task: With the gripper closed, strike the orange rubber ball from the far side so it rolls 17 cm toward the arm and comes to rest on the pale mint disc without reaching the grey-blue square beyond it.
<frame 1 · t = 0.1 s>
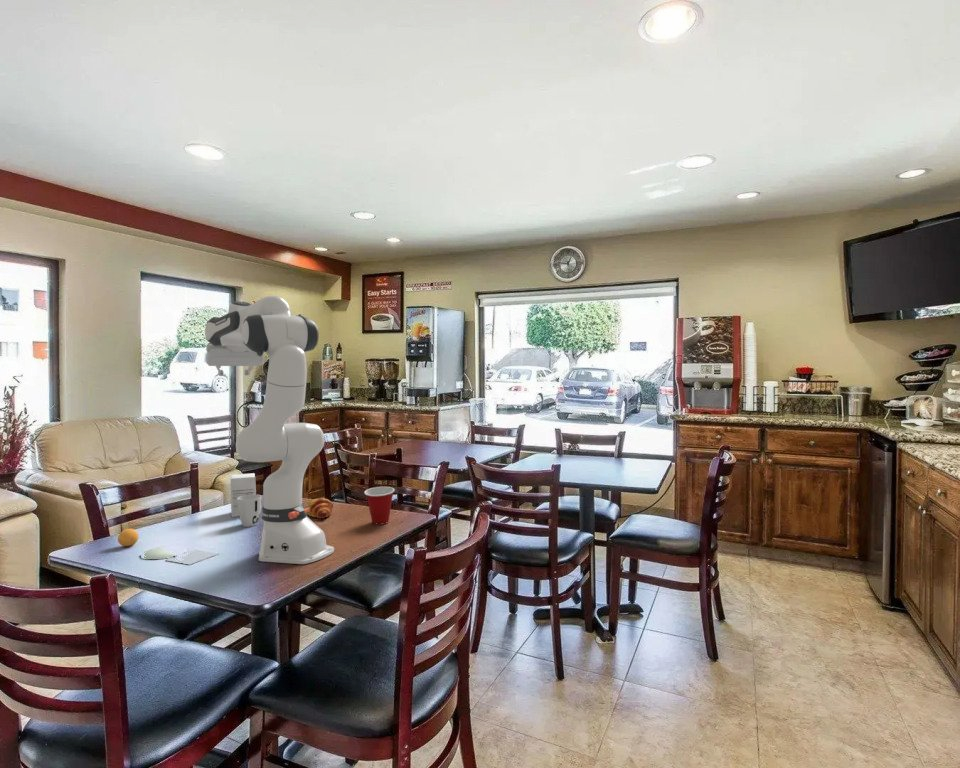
hand: (233, 374, 208), 54 cm above the table, tool tilted 30°, fingers open, 8 cm apart
plastic cup: (380, 523, 196), on the table
croissant: (319, 515, 209), on the table
supplement box: (243, 514, 211), on the table
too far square: (192, 557, 160), on the table
cup: (250, 525, 195), on the table
ball: (128, 537, 172), on the table
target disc: (164, 552, 165), on the table
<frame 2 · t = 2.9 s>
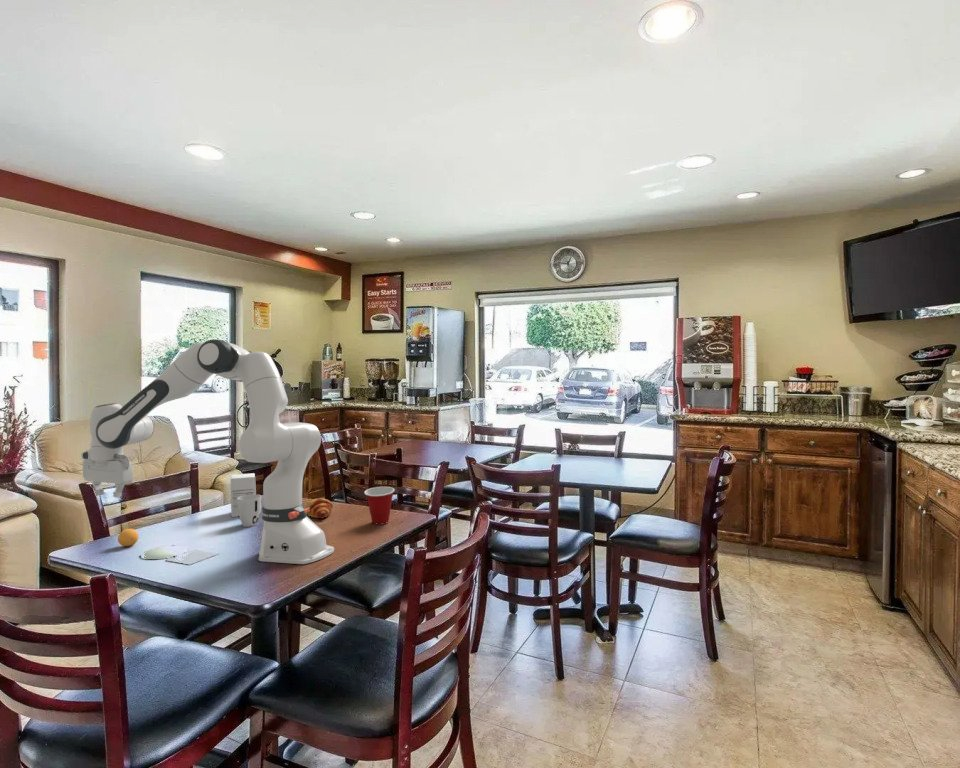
hand: (108, 496, 176), 15 cm above the table, tool pointing down, fingers open, 8 cm apart
nothing on the table moved.
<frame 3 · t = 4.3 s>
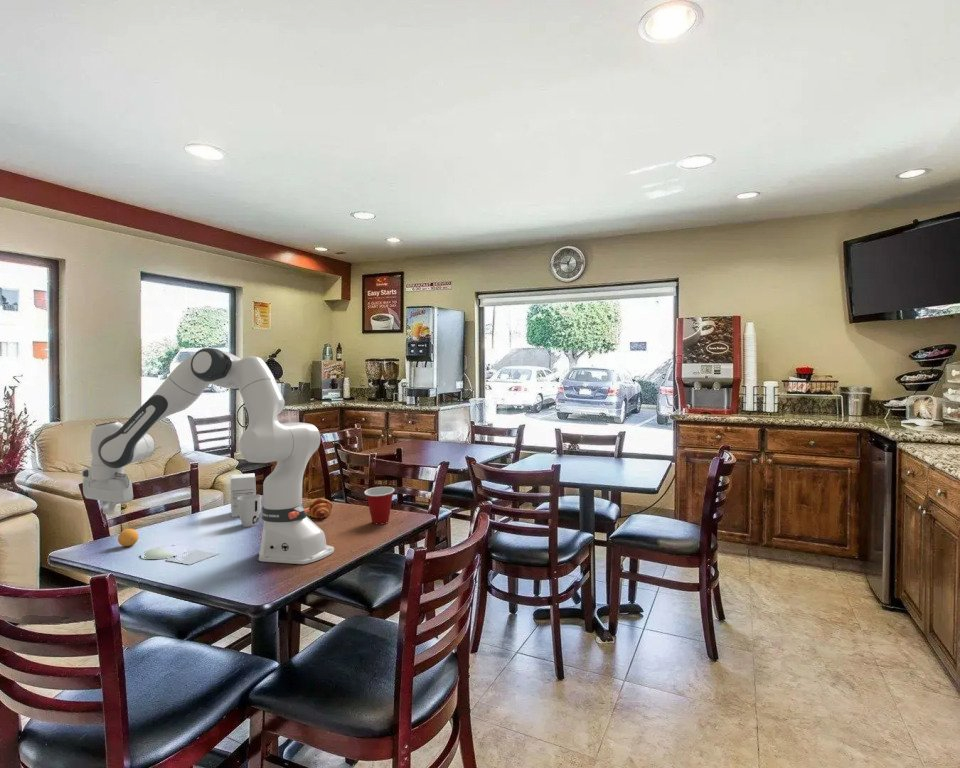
hand: (108, 514, 176), 9 cm above the table, tool pointing down, fingers closed
nothing on the table moved.
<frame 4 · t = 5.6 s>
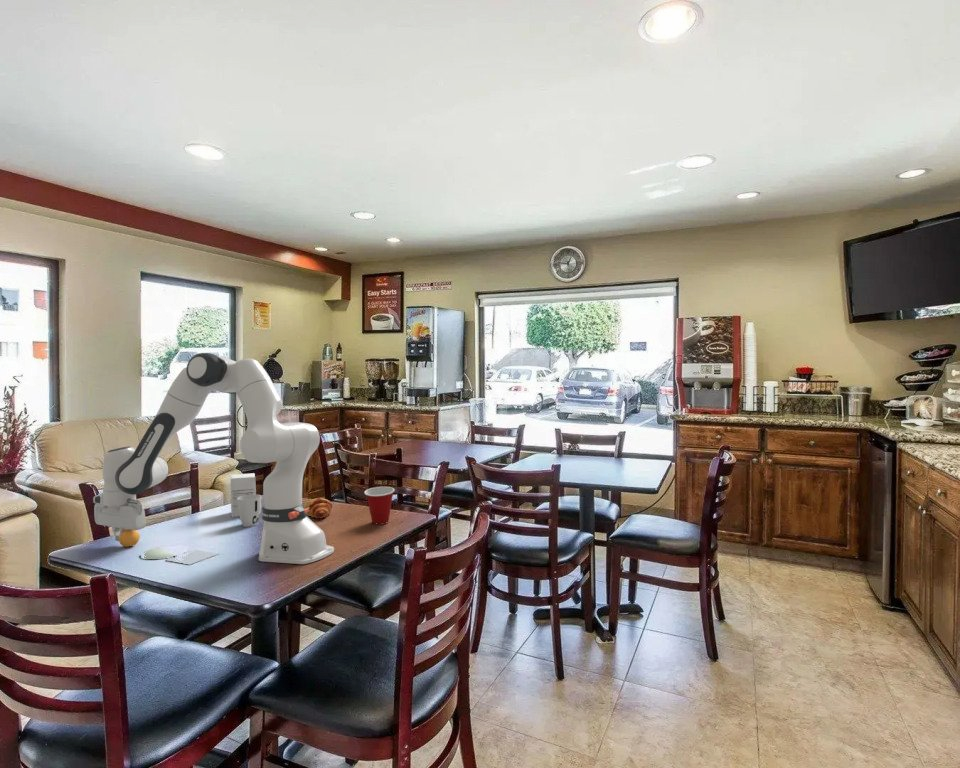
hand: (120, 540, 173), 1 cm above the table, tool pointing down, fingers closed
ball: (129, 538, 172), on the table, touching gripper
everything else where it was.
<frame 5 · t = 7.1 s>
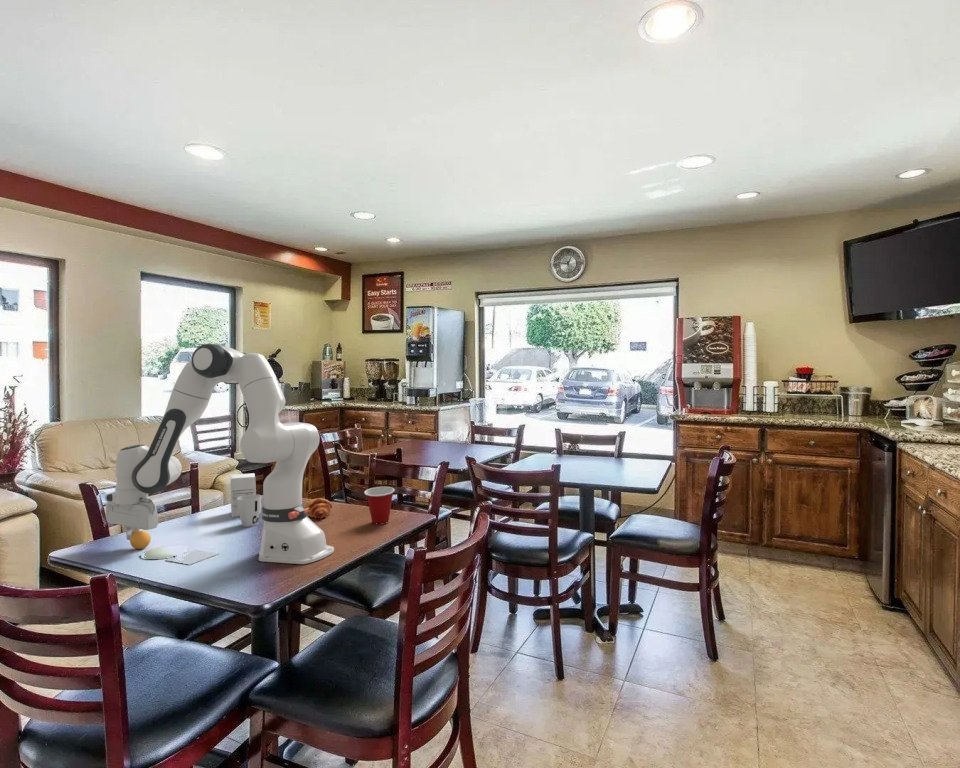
hand: (131, 539, 171), 2 cm above the table, tool pointing down, fingers closed
ball: (140, 539, 169), on the table, touching gripper
everything else where it was.
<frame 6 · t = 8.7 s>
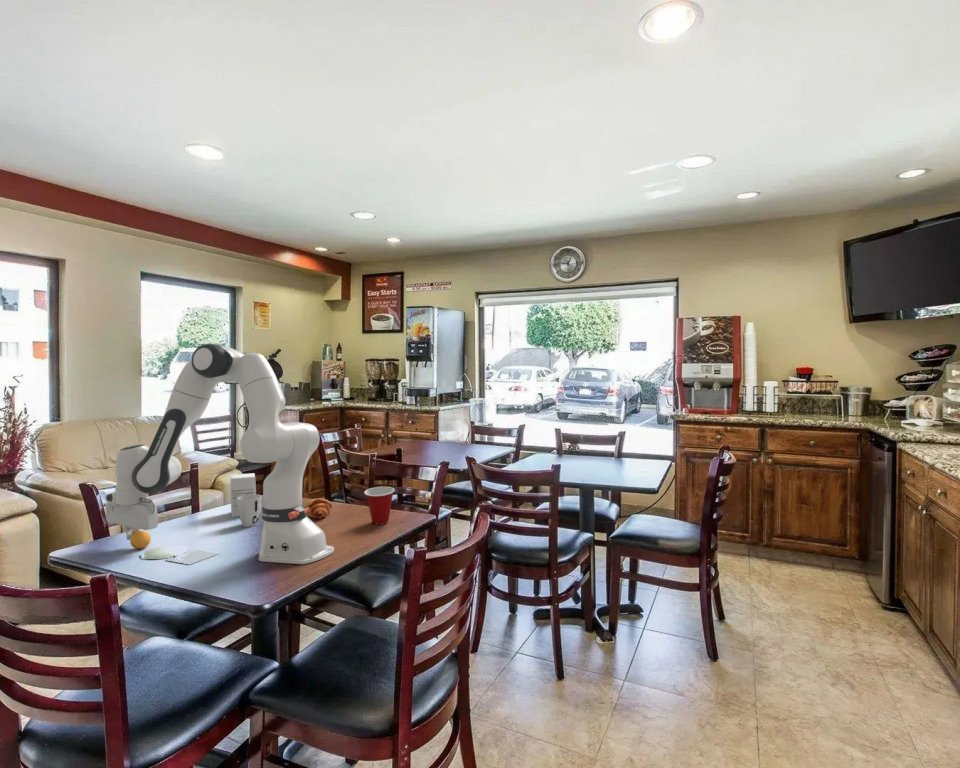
hand: (131, 539, 171), 2 cm above the table, tool pointing down, fingers closed
nothing on the table moved.
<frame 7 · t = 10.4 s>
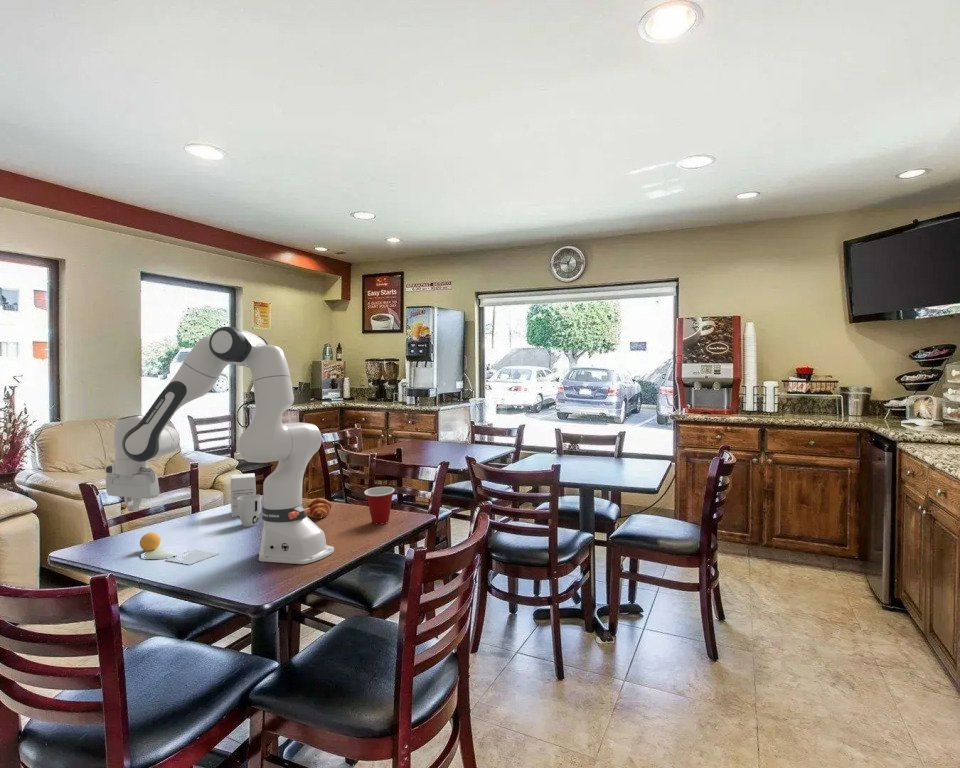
hand: (133, 511, 170), 12 cm above the table, tool pointing down, fingers closed
ball: (150, 541, 167), on the table
everything else where it was.
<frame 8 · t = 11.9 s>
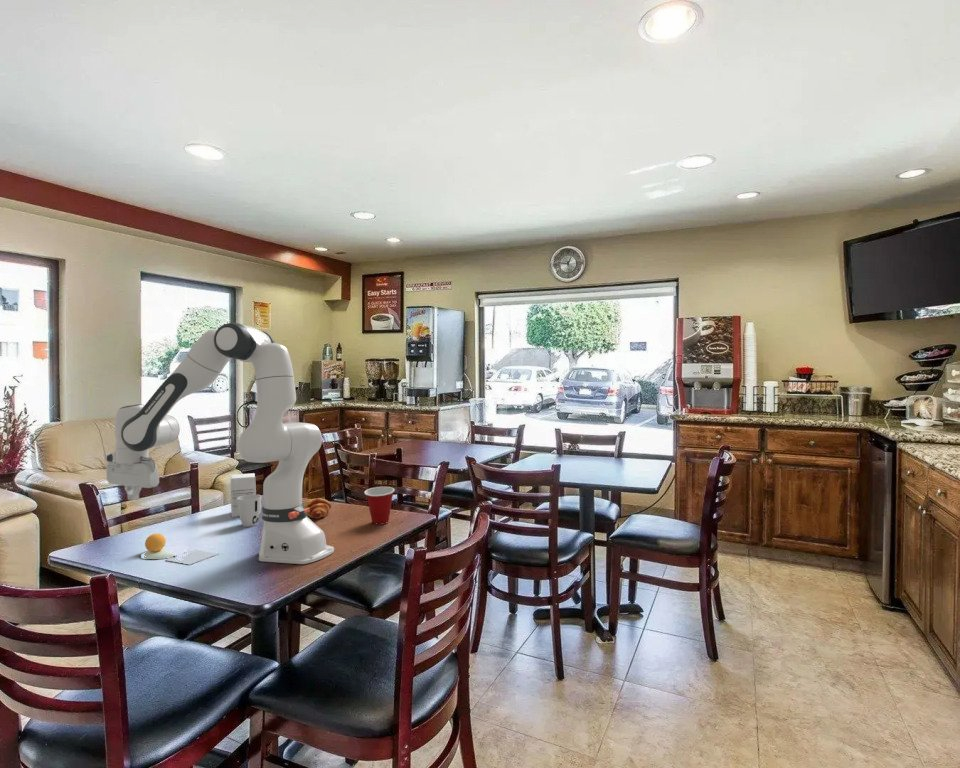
hand: (133, 499, 170), 15 cm above the table, tool pointing down, fingers closed
ball: (155, 542, 166), on the table
at the end: ball 3.7 cm from the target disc (horizontally); ball at rest at the end (0.0 cm/s); ball moved 13.3 cm from its start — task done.
